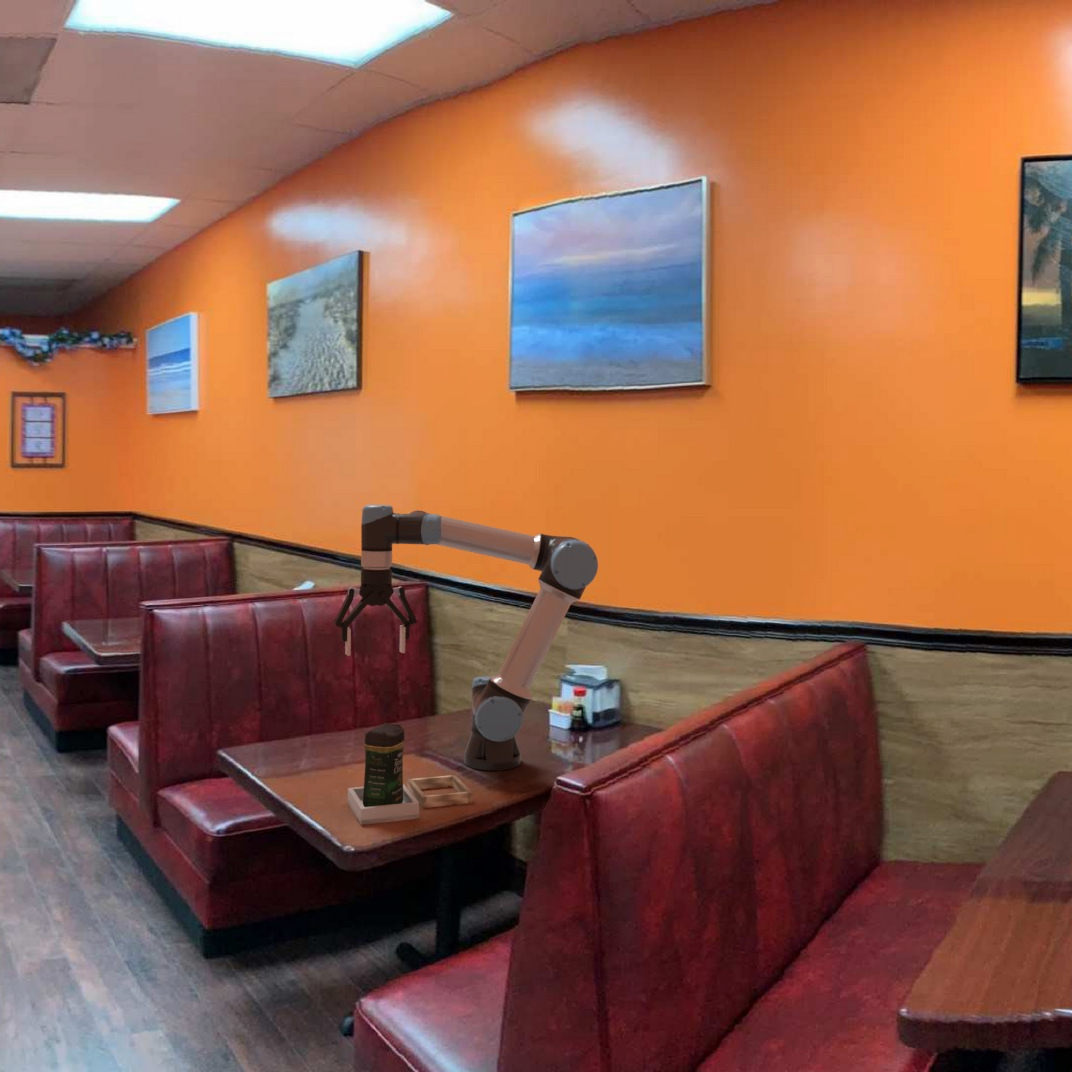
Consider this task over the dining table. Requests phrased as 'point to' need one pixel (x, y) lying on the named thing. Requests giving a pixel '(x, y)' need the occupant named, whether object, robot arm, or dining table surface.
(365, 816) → the parts tray
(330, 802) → the dining table surface
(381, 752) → the coffee jar
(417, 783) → the holder collar
